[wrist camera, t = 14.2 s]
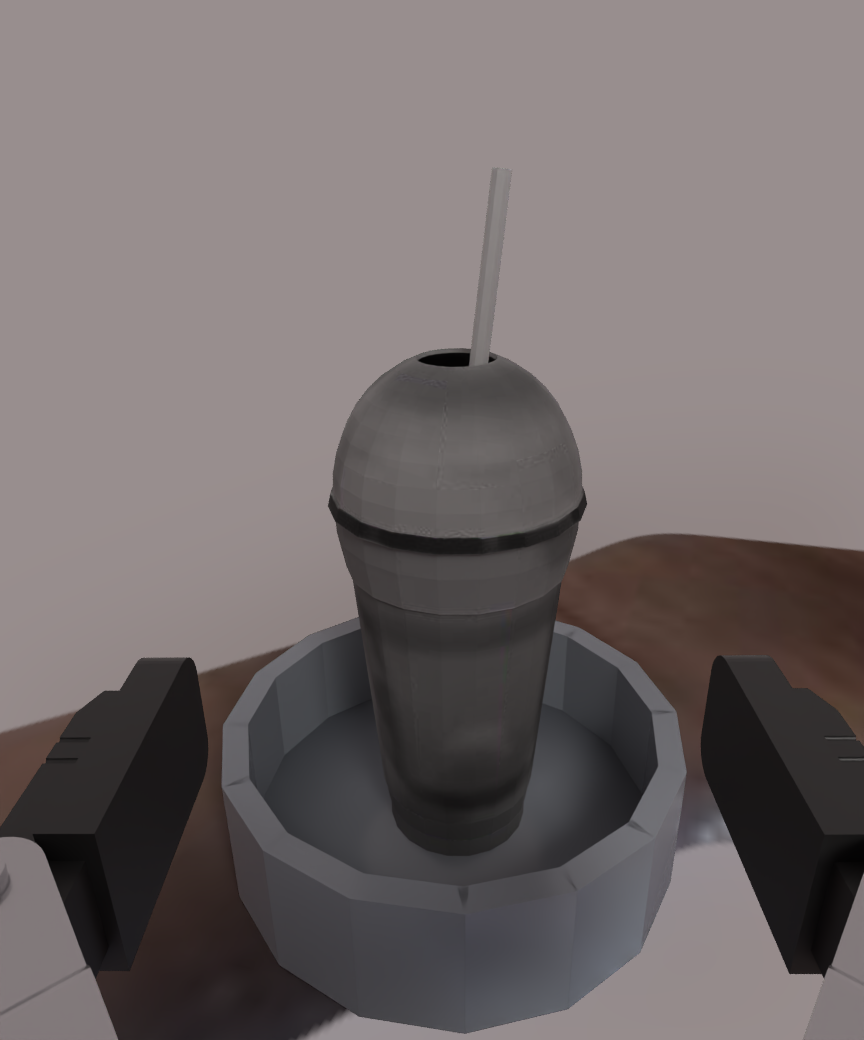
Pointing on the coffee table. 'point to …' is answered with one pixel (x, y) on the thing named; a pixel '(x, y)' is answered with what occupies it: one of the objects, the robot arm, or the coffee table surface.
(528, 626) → the beverage cup
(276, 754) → the bowl
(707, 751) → the robot arm
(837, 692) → the coffee table surface
